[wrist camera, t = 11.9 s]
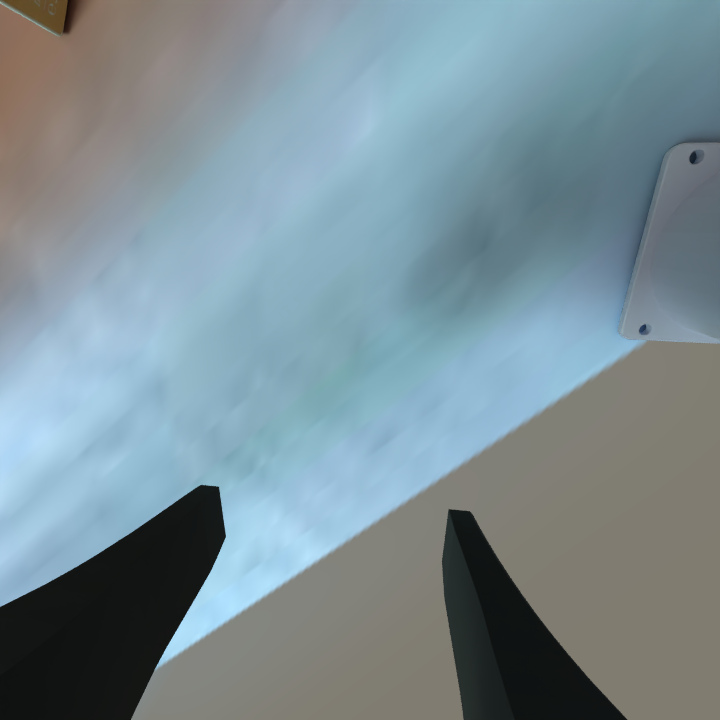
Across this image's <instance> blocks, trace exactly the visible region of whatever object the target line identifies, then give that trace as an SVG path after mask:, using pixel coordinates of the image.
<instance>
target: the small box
mask: <svg viewBox="0 0 720 720" xmlns="http://www.w3.org/2000/svg"><path fill="white" fill-rule="evenodd" d="M0 3H1V4H2V5H4V6H6V7H7V8H9V9H11V10H13V11H14V12H16V13H18V14H20V15H21V16H23V17H25V18H27V19H28V20H30V21H32V22H33V23H35V24H37V25H39V26H40V27H42V28H44V29H46V30H47V31H49V32H51V33H53V34H54V35H56V36H62V33H63V29H64V21H65V16H66V9H67V3H68V0H0Z"/></svg>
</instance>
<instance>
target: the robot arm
mask: <svg viewBox="0 0 720 720" xmlns="http://www.w3.org/2000/svg"><path fill="white" fill-rule="evenodd" d="M692 152H695V153H696V155H697V159H696V161H695V163H693V164H691V163H690V161H689V157H690V155H691V153H692ZM644 324H646V329H645V331H643V332H642V333H639V329H640V327H641V326H642V325H644ZM618 333H619V334H620V335H621V336H622V337H624V338H627V339H633V340H655V341H677V342H698V343H719V344H720V143H682V144H679V145H675V146H674V147H672V148H670V149H669V150H668V151H667V152H666V154H665V156H664V158H663V162H662V165H661V169H660V173H659V176H658V180H657V184H656V187H655V191H654V195H653V199H652V202H651V206H650V210H649V213H648V217H647V221H646V224H645V228H644V232H643V236H642V239H641V243H640V247H639V250H638V254H637V258H636V261H635V265H634V269H633V273H632V276H631V280H630V284H629V287H628V291H627V295H626V299H625V302H624V306H623V310H622V313H621V317H620V321H619V324H618ZM225 538H226V534H225V527H224V520H223V513H222V506H221V499H220V492H219V487H216V486H206V485H200V486H199V487H197V488H195V489H194V490H192V491H191V492H189V493H188V494H187V495H185V496H184V497H182V498H181V499H179V500H178V501H176V502H175V503H174V504H172V505H171V506H169V507H168V508H167V509H165V510H164V511H162V512H161V513H159V514H158V515H156V516H155V517H154V518H152V519H151V520H149V521H148V522H146V523H145V524H143V525H142V526H141V527H139V528H138V529H136V530H135V531H133V532H132V533H130V534H129V535H127V536H125V537H124V538H122V539H121V540H119V541H118V542H116V543H114V544H113V545H111V546H110V547H108V548H107V549H105V550H104V551H102V552H100V553H99V554H97V555H96V556H94V557H92V558H91V559H89V560H87V561H86V562H84V563H82V564H81V565H79V566H77V567H76V568H74V569H72V570H70V571H68V572H67V573H65V574H63V575H61V576H60V577H58V578H56V579H54V580H52V581H51V582H49V583H47V584H45V585H43V586H41V587H39V588H37V589H35V590H33V591H31V592H29V593H27V594H25V595H23V596H21V597H19V598H17V599H15V600H13V601H11V602H9V603H7V604H5V605H3V606H1V607H0V720H131V718H132V716H133V714H134V712H135V709H136V707H137V705H138V703H139V701H140V699H141V697H142V695H143V693H144V691H145V689H146V687H147V684H148V682H149V680H150V678H151V676H152V674H153V672H154V670H155V668H156V666H157V664H158V662H159V660H160V658H161V657H162V655H163V653H164V651H165V649H166V647H167V646H168V644H169V642H170V641H171V639H172V637H173V635H174V634H175V632H176V630H177V629H178V627H179V625H180V623H181V622H182V620H183V618H184V617H185V615H186V613H187V611H188V610H189V608H190V606H191V605H192V603H193V601H194V599H195V598H196V596H197V594H198V592H199V591H200V589H201V587H202V586H203V584H204V582H205V580H206V579H207V577H208V575H209V573H210V571H211V570H212V567H213V565H214V563H215V561H216V559H217V556H218V554H219V552H220V549H221V547H222V545H223V542H224V540H225ZM442 567H443V583H444V597H445V604H446V610H447V616H448V622H449V628H450V635H451V640H452V646H453V652H454V658H455V664H456V670H457V676H458V682H459V688H460V695H461V702H462V710H463V718H464V720H627V719H626V718H625V717H624V716H623V715H622V713H621V712H620V711H619V710H618V709H617V708H616V707H615V706H614V705H613V704H612V703H611V702H610V701H609V700H608V698H607V697H606V696H605V695H604V694H603V693H602V692H601V691H600V690H599V689H598V688H597V687H596V686H595V685H594V684H593V682H592V681H590V679H589V678H588V677H587V676H586V675H585V673H584V672H583V671H582V670H581V669H580V667H579V666H578V665H577V664H576V663H575V662H574V660H573V659H572V658H571V657H570V656H569V655H568V654H567V652H566V651H565V650H564V649H563V647H562V646H561V645H560V644H559V643H558V641H557V640H556V639H555V638H554V636H553V635H552V634H551V633H550V631H549V630H548V629H547V628H546V626H545V625H544V624H543V622H542V621H541V620H540V618H539V617H538V616H537V614H536V613H535V612H534V610H533V609H532V608H531V606H530V605H529V603H528V602H527V601H526V599H525V598H524V597H523V595H522V594H521V592H520V591H519V589H518V588H517V587H516V585H515V584H514V582H513V581H512V579H511V578H510V576H509V575H508V573H507V572H506V570H505V569H504V567H503V565H502V564H501V562H500V561H499V559H498V558H497V556H496V554H495V553H494V551H493V550H492V548H491V546H490V545H489V543H488V541H487V540H486V538H485V536H484V534H483V533H482V531H481V529H480V527H479V526H478V524H477V522H476V520H475V518H474V516H473V515H472V513H471V512H470V511H460V510H450V509H449V511H448V519H447V527H446V534H445V543H444V550H443V558H442Z"/></svg>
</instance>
